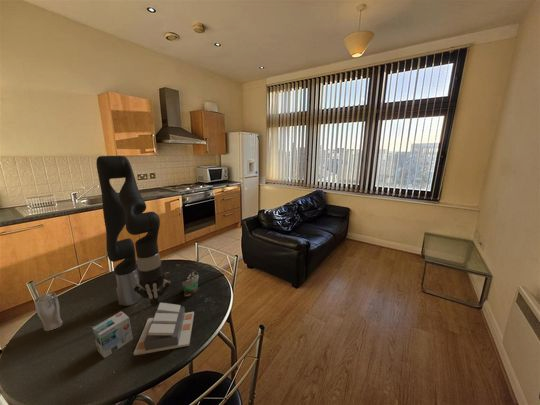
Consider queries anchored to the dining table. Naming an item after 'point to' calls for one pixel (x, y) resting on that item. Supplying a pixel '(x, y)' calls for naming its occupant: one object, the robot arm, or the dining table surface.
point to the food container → (191, 284)
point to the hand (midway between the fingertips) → (155, 304)
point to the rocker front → (161, 329)
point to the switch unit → (166, 341)
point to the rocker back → (168, 308)
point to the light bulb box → (112, 334)
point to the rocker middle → (165, 318)
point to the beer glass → (48, 311)
